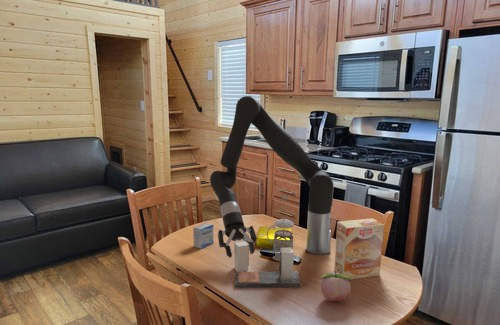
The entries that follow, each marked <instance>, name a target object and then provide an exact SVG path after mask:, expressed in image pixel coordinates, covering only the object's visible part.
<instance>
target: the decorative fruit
mask: <svg viewBox="0 0 500 325" xmlns="http://www.w3.org/2000/svg"><path fill="white" fill-rule="evenodd" d="M319 279H321V280H320V292H321V294H322V295H323V296H324V297H325V298H326V299H328V300H329V301H331V302H340V301H342V300H345V298H347V297H348V296H349V294H350V292H351V291H352V290H351V289H352V288H351V283H350V281H352V279H350V278H349V277H348V276H347V275H345V274H340V273H336V271H335V272H334V271H333V272H328V273H325V274H323V275H322V276H320V277H319Z"/></svg>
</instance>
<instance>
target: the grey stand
mask: <svg viewBox="0 0 500 325" xmlns="http://www.w3.org/2000/svg"><path fill="white" fill-rule="evenodd" d="M294 253H295V252H294V248H293V249H292V248H280V257H279V261H278V264H279V265H278V266H279V268H278V271H243V272H237V271H235V280H234V281H235V284H234V285H235V287H234V288H235V289H236V288H237V289H240V288H241V289H242V288H244V289H245V288H246V289H247V288H251V289H252V288H254V289H255V288H256V289H257V288H259V289H260V288H301V287H302V281H301V279H300V275H299V272H298V271H294V260H295V258H294V255H295V254H294Z"/></svg>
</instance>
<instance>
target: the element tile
mask: <svg viewBox="0 0 500 325" xmlns="http://www.w3.org/2000/svg"><path fill="white" fill-rule="evenodd" d="M269 227H270V229H269ZM273 227H274V226H272V228H271V226H264V225H260V226H259V227H258V229H257V233H256V237H257V240H256V241H255V243H256V244H255V245H256V246H257V247H259V248H270V249H273V244H274V243H273V242H274V235H275V232H276V231H278V230H283V228H280V227H277V226H275V229H274V228H273ZM291 228H292V227H290V228H284V230H288V231H290V232H292V229H291ZM268 229H269V230H268ZM267 231H268V236H267ZM267 237H269V239H270V240H271V241H272V242H271V241H270V240H269V239H267ZM278 238H280V237H277V239H278ZM284 238H286V239H288V238H287V237H284ZM268 240H269V241H270V242H271V243H272V244H271V243H270V242H269V241H268ZM279 240H285V239H279ZM288 240H290V239H288ZM285 241H287V240H285ZM277 244H279V243H277ZM281 245H282V244H281ZM283 246H285V245H283ZM277 247H279V246H277ZM285 247H287V246H285ZM289 247H290V246H289Z"/></svg>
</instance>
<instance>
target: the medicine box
mask: <svg viewBox="0 0 500 325" xmlns="http://www.w3.org/2000/svg"><path fill="white" fill-rule="evenodd" d="M214 243H215V242H214V224H213V223H210V222H205V223H202V224H199V225H197V226H195V227H193V247H194V248H198V249H200V250H201V249H204V248H206V247H208V246H210V245H212V244H214Z"/></svg>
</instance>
